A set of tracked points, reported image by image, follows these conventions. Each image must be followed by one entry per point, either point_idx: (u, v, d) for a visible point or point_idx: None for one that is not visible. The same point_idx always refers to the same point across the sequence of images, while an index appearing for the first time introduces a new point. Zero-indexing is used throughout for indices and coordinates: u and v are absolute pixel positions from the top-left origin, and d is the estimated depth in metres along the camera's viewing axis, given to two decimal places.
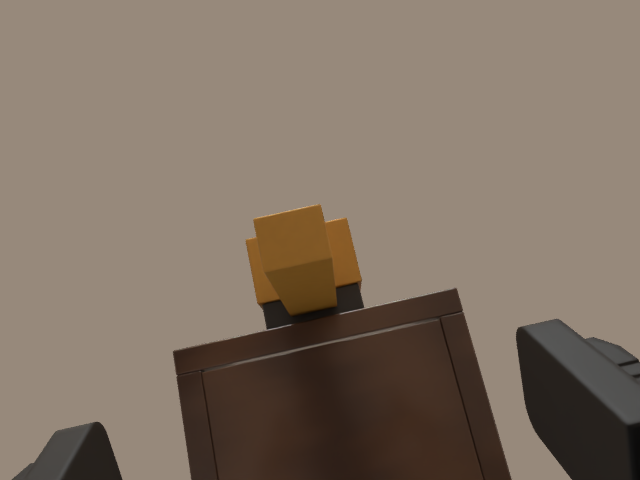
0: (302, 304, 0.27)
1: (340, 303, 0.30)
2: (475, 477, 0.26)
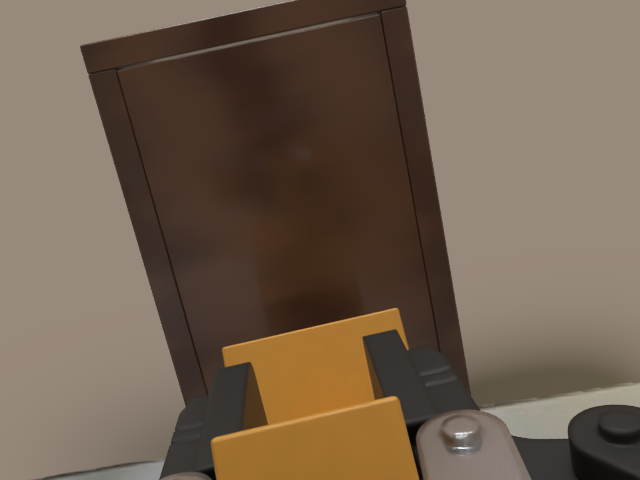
0: None
1: None
2: (401, 177, 0.27)
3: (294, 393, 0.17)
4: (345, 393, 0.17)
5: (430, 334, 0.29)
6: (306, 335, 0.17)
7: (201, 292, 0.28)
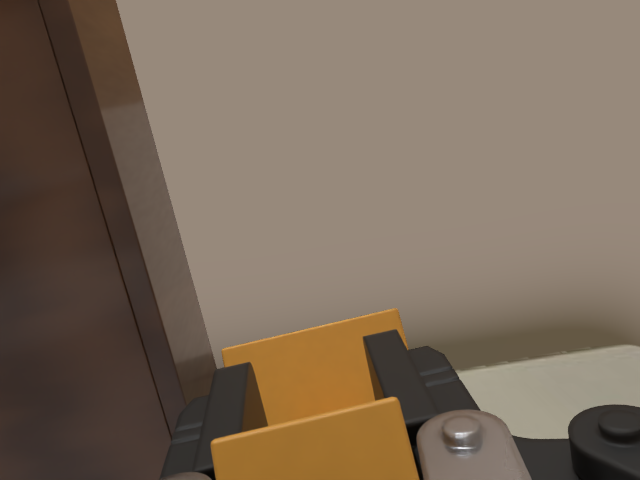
0: None
1: None
2: (74, 148, 0.26)
3: (294, 395, 0.17)
4: (345, 394, 0.17)
5: (126, 314, 0.28)
6: (306, 336, 0.17)
7: None
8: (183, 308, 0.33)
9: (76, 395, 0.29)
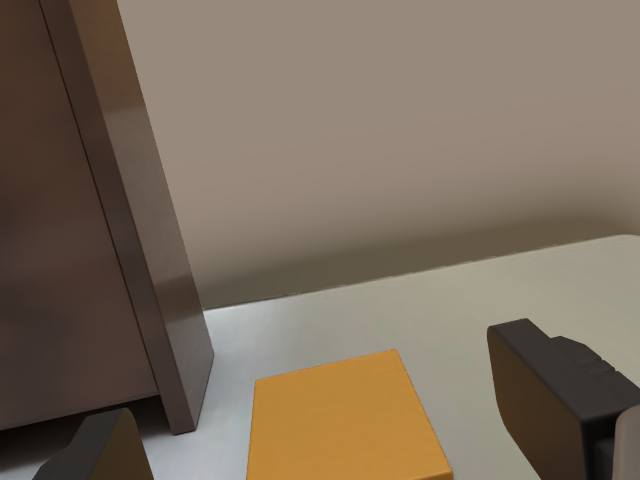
0: None
1: None
2: None
3: None
4: None
5: (68, 123, 0.26)
6: None
7: None
8: (139, 148, 0.31)
9: (16, 216, 0.26)
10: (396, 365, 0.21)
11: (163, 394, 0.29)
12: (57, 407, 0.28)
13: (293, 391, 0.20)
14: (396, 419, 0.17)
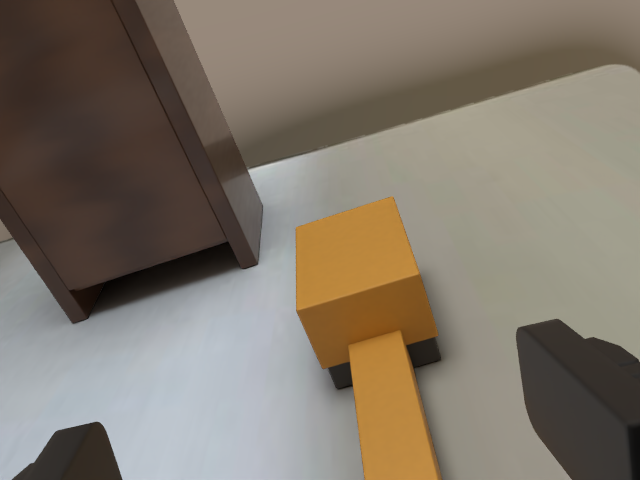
0: None
1: (414, 356, 0.27)
2: None
3: (350, 330, 0.25)
4: (384, 326, 0.25)
5: (127, 46, 0.33)
6: (355, 297, 0.25)
7: None
8: (180, 51, 0.37)
9: (102, 123, 0.35)
10: (392, 208, 0.30)
11: (230, 241, 0.39)
12: (157, 257, 0.39)
13: (321, 232, 0.30)
14: (389, 245, 0.27)
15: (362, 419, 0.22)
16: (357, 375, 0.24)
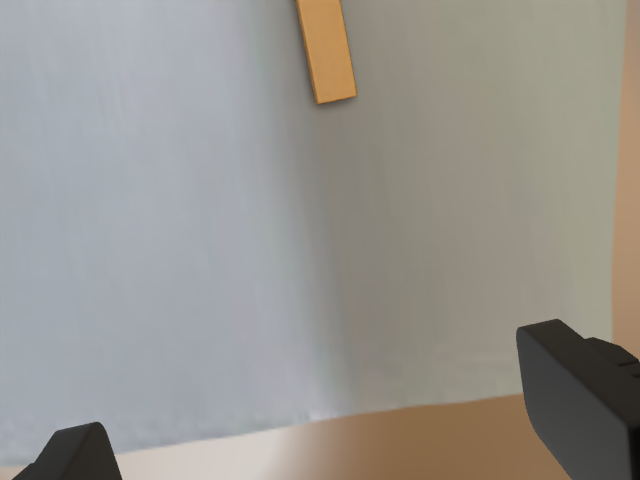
0: None
1: None
2: None
3: None
4: None
5: None
6: None
7: None
8: None
9: None
10: None
11: None
12: None
13: None
14: None
15: (302, 4, 0.34)
16: None
